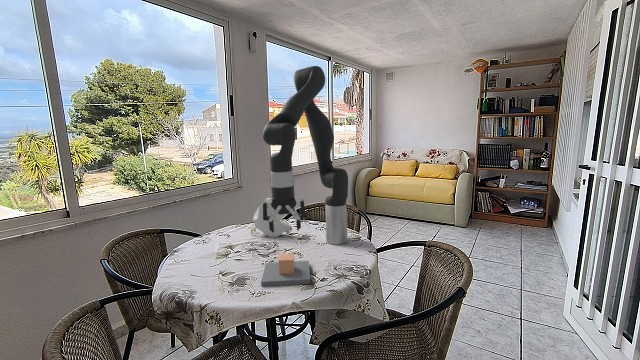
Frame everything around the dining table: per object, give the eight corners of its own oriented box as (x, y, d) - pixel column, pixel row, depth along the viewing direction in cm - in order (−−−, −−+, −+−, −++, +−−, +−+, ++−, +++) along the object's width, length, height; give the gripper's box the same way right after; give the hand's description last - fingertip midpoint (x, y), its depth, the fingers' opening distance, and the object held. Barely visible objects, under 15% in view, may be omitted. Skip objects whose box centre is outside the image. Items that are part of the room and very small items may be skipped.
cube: (294, 266, 107) (293, 253, 106) (293, 273, 102) (293, 259, 102) (280, 267, 107) (279, 254, 106) (279, 274, 102) (278, 260, 101)
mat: (309, 264, 112) (308, 260, 112) (310, 283, 99) (310, 279, 98) (266, 266, 111) (266, 262, 111) (261, 286, 98) (261, 281, 97)
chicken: (253, 244, 144) (291, 234, 139) (239, 207, 142) (276, 196, 137) (260, 239, 151) (295, 229, 146) (246, 203, 149) (282, 192, 144)
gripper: (303, 181, 103) (305, 225, 106) (262, 183, 103) (265, 228, 106) (304, 185, 96) (306, 233, 99) (259, 187, 95) (263, 236, 98)
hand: (285, 230), depth 102 cm, fingers open, 8 cm apart
